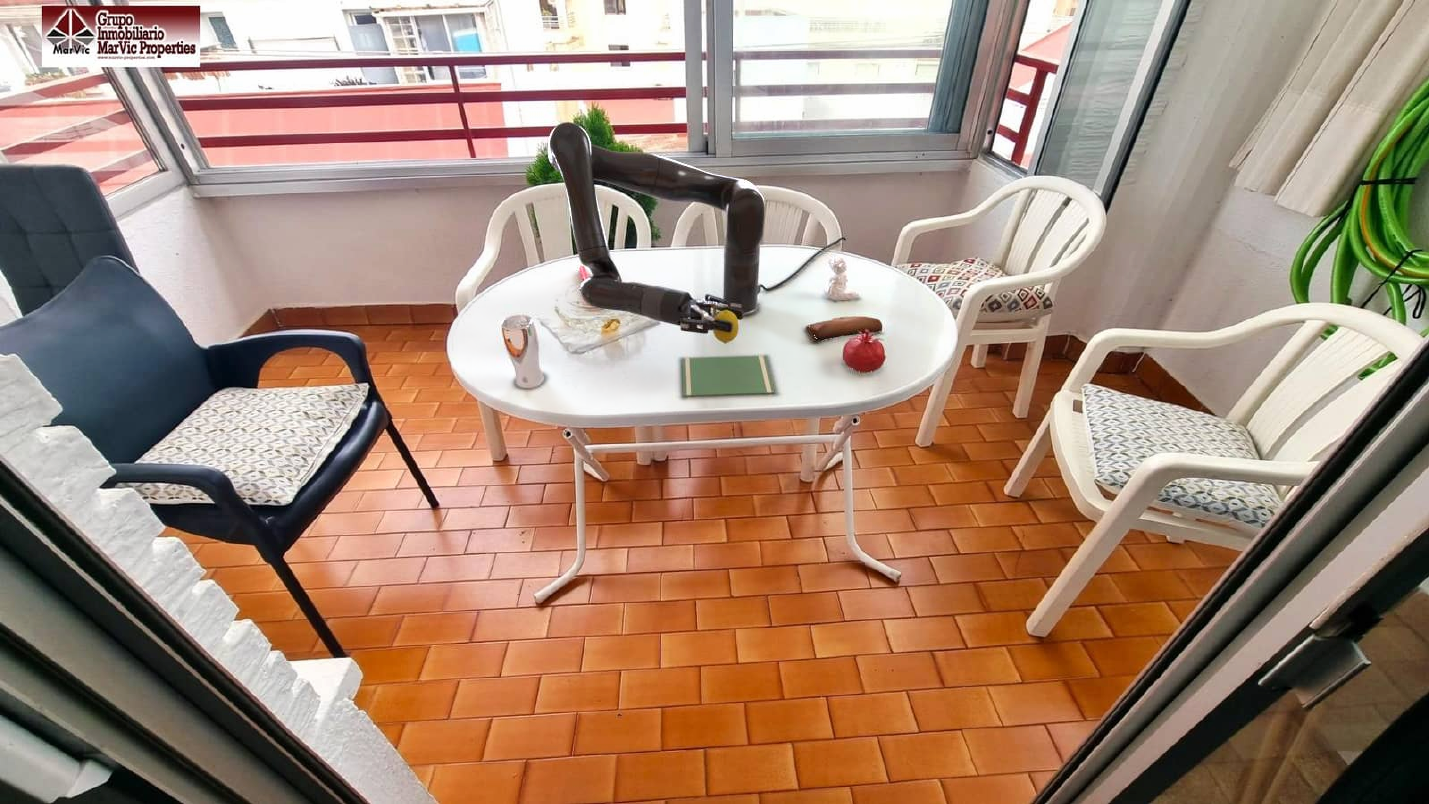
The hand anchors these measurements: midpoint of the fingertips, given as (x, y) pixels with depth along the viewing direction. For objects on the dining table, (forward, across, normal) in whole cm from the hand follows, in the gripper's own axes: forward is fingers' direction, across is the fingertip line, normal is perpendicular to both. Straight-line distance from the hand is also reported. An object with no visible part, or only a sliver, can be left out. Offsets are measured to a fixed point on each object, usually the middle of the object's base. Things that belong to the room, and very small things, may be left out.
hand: (737, 321), depth 122 cm
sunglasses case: (+17, +31, +15) cm, 38 cm away
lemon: (-3, 0, +6) cm, 7 cm away
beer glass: (-42, -20, +16) cm, 49 cm away
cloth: (-2, 0, +15) cm, 15 cm away
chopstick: (-57, +26, +16) cm, 65 cm away
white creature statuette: (+11, +50, +15) cm, 53 cm away
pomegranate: (+25, +17, +14) cm, 34 cm away
